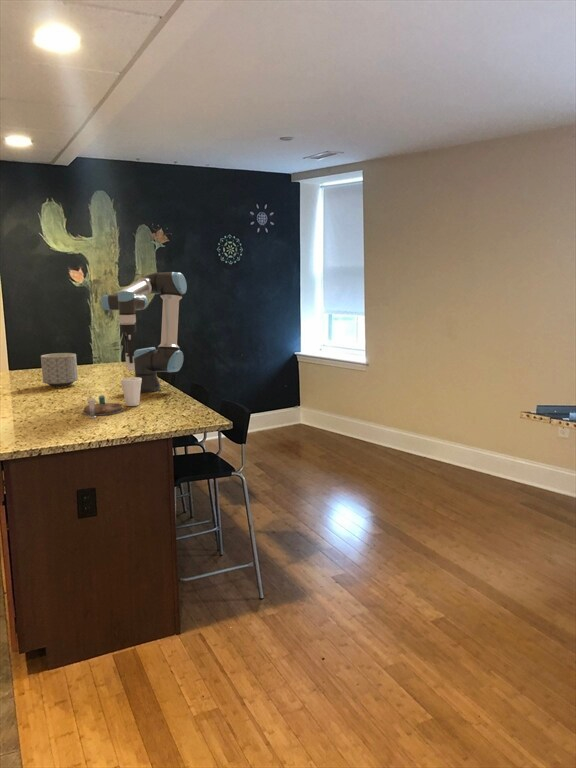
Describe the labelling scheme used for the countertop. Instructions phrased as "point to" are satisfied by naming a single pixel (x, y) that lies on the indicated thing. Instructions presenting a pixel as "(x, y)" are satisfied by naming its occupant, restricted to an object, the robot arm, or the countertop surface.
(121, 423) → the countertop surface
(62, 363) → the planter
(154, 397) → the countertop surface
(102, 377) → the countertop surface
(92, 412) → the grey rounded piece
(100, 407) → the brown and teal disc
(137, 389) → the cup
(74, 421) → the countertop surface
